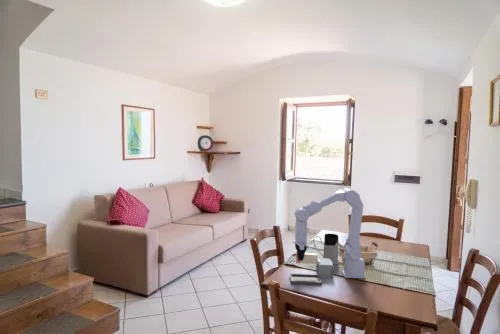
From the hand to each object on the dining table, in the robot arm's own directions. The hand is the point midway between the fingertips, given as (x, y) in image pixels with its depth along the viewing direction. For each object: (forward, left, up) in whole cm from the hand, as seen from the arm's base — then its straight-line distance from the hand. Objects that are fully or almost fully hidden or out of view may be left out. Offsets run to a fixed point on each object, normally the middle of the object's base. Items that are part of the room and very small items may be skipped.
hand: (300, 259), depth 160 cm
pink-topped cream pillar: (-3, 0, -2) cm, 3 cm away
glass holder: (-16, -21, -9) cm, 28 cm away
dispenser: (-12, -3, -8) cm, 15 cm away
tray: (-2, +6, -8) cm, 11 cm away
